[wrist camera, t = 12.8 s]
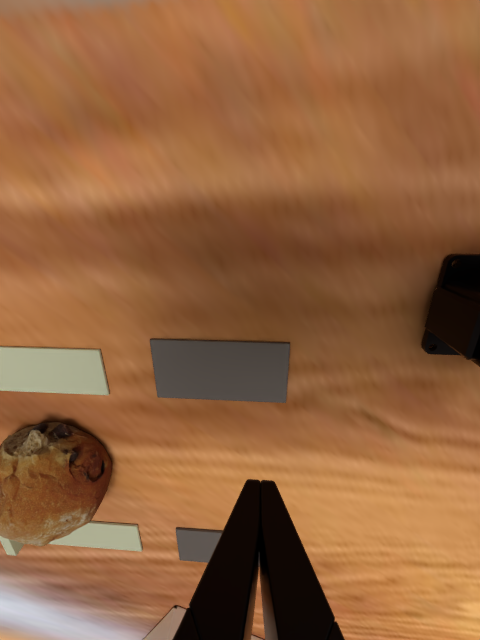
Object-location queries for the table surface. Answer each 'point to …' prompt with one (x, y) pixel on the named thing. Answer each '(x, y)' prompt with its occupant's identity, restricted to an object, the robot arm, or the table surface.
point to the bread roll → (50, 482)
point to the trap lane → (171, 382)
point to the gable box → (172, 626)
